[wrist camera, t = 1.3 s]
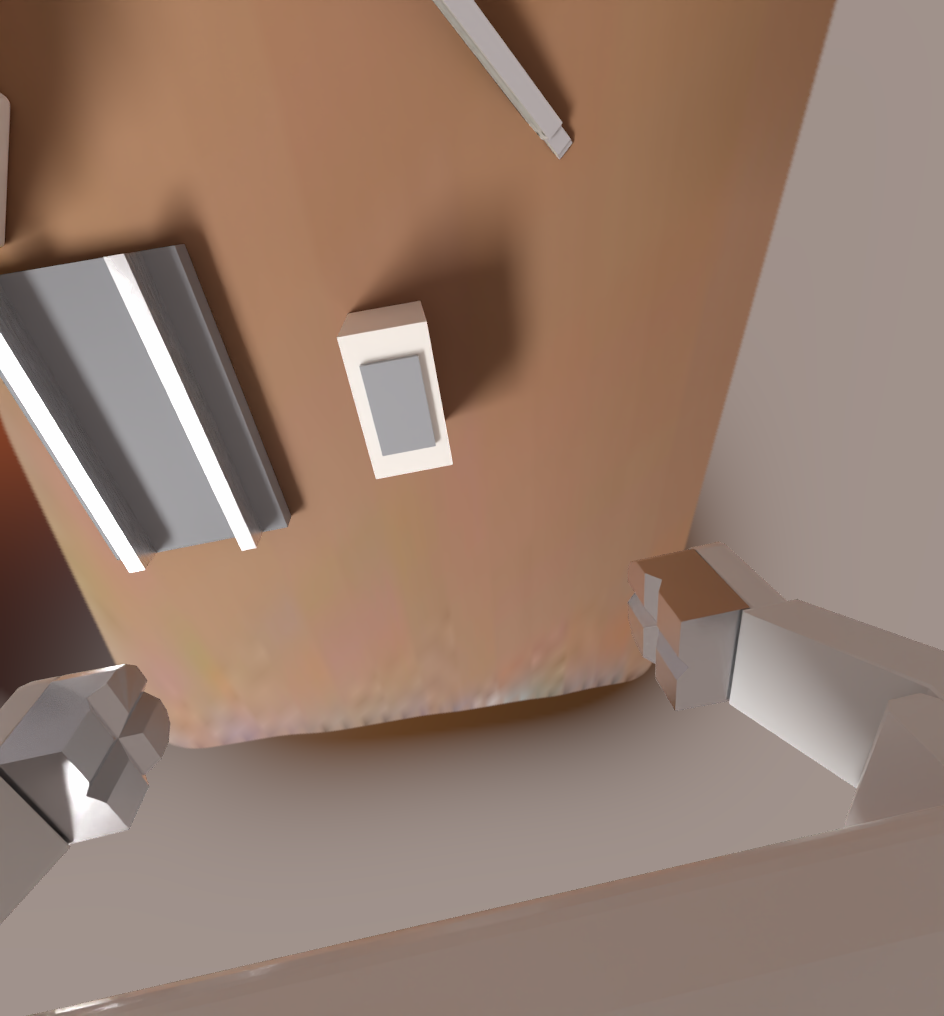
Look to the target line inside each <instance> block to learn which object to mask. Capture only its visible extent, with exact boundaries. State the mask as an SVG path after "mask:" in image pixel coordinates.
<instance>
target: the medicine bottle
mask: <svg viewBox="0 0 944 1016" xmlns="http://www.w3.org/2000/svg"><path fill="white" fill-rule="evenodd" d="M9 127H10V102H9V100H8V99H7V97H5V96H4V95H3V94H1V93H0V248H1V247H3V246H4V244H5V223H6V199H7V175H8V151H9Z"/></svg>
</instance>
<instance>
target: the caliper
mask: <svg viewBox="0 0 944 1016" xmlns="http://www.w3.org/2000/svg"><path fill="white" fill-rule="evenodd" d="M433 2H434V3H435V4H436V6H437V7H438V8H439V9H440V11H441V12H442V13H443V15H444V16H445V17H446V19H447V20H448V21H449V22H450V24H451V25H452V26H453V28H454V29H455V30H456V31H457V33H458V34H459V35H460V37H461V38H462V39H463V40H464V42H465V43H466V44H467V46H468V47H469V48H470V50H471V51H472V52H473V53H474V55H475V56H476V57H477V59H478V60H479V61H480V62H481V64H482V65H483V66H484V68H485V69H486V70H487V71H488V73H489V74H490V75H491V77H492V78H493V79H494V81H495V82H496V83H497V84H498V86H499V87H500V88H501V90H502V91H503V92H504V93H505V95H506V96H507V97H508V99H509V100H510V101H511V103H512V104H513V105H514V106H515V108H516V109H517V110H518V112H519V113H520V114H521V115H522V117H523V118H524V119H525V120H526V121H527V123H528V124H529V125H530V126H531V127H532V128H533V130H534V131H535V132H536V133H537V134H538V135H539V137H540V138H541V139H542V140H544V141H545V142H546V143H547V145H548V146H549V147H550V149H551V150H552V151H553V153H554V154H555V155H556V156H557V158H558V159H561V157H562V156H563V155H564V153H565V152H566V151H567V149H568V148H569V147H570V146H571V144H572V141H571V139H570V137H569V136H568V134H567V133H566V132H565V130H564V129H563V128H562V126H561V124H562V123H563V122H562V121H561V120H560V118H559V117H558V116H557V114H556V113H555V111H554V110H553V109H552V107H551V106H550V105H549V103H548V102H547V100H546V99H545V98H544V96H543V95H542V94H541V92H540V91H539V89H538V88H537V87H536V85H535V84H534V83H533V81H532V80H531V78H530V77H529V76H528V74H527V73H526V72H525V70H524V69H523V67H522V66H521V65H520V63H519V62H518V61H517V59H516V58H515V56H514V55H513V54H512V52H511V51H510V50H509V48H508V47H507V45H506V44H505V43H504V41H503V40H502V39H501V37H500V36H499V34H498V33H497V32H496V30H495V29H494V28H493V26H492V25H491V23H490V22H489V21H488V19H487V18H486V17H485V15H484V14H483V12H482V11H481V10H480V8H479V7H478V6H477V4H476V3H475V2H474V0H433Z"/></svg>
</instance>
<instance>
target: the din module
mask: <svg viewBox="0 0 944 1016" xmlns="http://www.w3.org/2000/svg"><path fill="white" fill-rule="evenodd" d="M337 340H338V343H339V347H340V351H341V354H342V358H343V361H344V365H345V369H346V372H347V376H348V379H349V383H350V387H351V390H352V394H353V398H354V401H355V405H356V408H357V412H358V416H359V419H360V423H361V426H362V430H363V434H364V437H365V441H366V445H367V448H368V452H369V455H370V459H371V463H372V466H373V470H374V473H375V477H376V479H380V478H385V477H390V476H395V475H401V474H406V473H411V472H416V471H421V470H427V469H432V468H437V467H442V466H448V465H453V462H452V457H451V451H450V446H449V440H448V435H447V429H446V424H445V419H444V413H443V408H442V402H441V397H440V391H439V386H438V380H437V375H436V369H435V364H434V359H433V353H432V348H431V342H430V337H429V331H428V326H427V321H426V318H425V314H424V311H423V308H422V304H421V301H416V302H410V303H404V304H399V305H393V306H387V307H382V308H376V309H370V310H365V311H359V312H354V313H348V314H347V316H346V319H345V321H344V323H343V325H342V327H341V330H340V332H339V334H338V336H337Z"/></svg>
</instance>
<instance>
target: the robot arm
mask: <svg viewBox="0 0 944 1016" xmlns="http://www.w3.org/2000/svg"><path fill="white" fill-rule="evenodd" d="M628 583H629V584H630V586H631V588H632V589H633V591H634V592H635V593H634V594H633V596H632V597H631V599H630V600H629V601H628V619H629V624H630V628H631V632H632V635H633V638H634V640H635V643H636V645H637V647H638V649H639V651H640V652H641V654H642V656H643V657H644V658H646V659H648V660H650V661H651V662H653V663H655V664H656V669H655V678H656V680H657V682H658V683H659V685H660V686H661V688H662V690H663V692H664V693H665V695H666V697H667V698H668V700H669V702H670V703H671V705H672V706H673V708H674V710H675V711H678V710H684V709H689V708H694V707H700V706H705V705H710V704H716V703H721V702H726V701H729V704H730V705H732V706H733V707H735V708H736V709H738V710H739V711H741V712H742V713H744V714H745V715H747V716H748V717H750V718H751V719H753V720H754V721H756V722H757V723H759V724H760V725H762V726H763V727H765V728H766V729H768V730H769V731H771V732H773V733H774V734H775V735H777V736H779V737H780V738H781V739H783V740H785V741H786V742H788V743H789V744H790V745H792V746H793V747H795V748H796V749H798V750H799V751H801V752H803V753H804V754H806V755H807V756H808V757H810V758H812V759H813V760H815V761H816V762H818V763H819V764H821V765H822V766H824V767H825V768H827V769H828V770H830V771H831V772H833V773H834V774H836V775H837V776H839V777H840V778H842V779H843V780H845V781H846V782H848V783H849V784H851V785H852V786H854V787H855V788H857V789H856V792H855V795H854V797H853V800H852V803H851V806H850V808H849V811H848V814H847V817H846V821H845V825H844V828H841V829H836V830H832V831H828V832H824V833H819V834H815V835H811V836H806V837H802V838H797V839H793V840H789V841H785V842H780V843H776V844H771V845H767V846H763V847H759V848H754V849H750V850H745V851H741V852H737V853H732V854H728V855H724V856H719V857H715V858H711V859H706V860H702V861H698V862H694V863H689V864H685V865H680V866H676V867H672V868H667V869H663V870H659V871H654V872H650V873H645V874H641V875H637V876H632V877H628V878H624V879H619V880H615V881H611V882H607V883H602V884H598V885H594V886H589V887H584V888H580V889H576V890H571V891H567V892H563V893H558V894H554V895H550V896H545V897H541V898H536V899H532V900H528V901H524V902H519V903H515V904H511V905H506V906H501V907H497V908H493V909H488V910H485V911H480V912H475V913H471V914H467V915H462V916H458V917H453V918H449V919H445V920H441V921H437V922H432V923H427V924H423V925H419V926H414V927H410V928H405V929H401V930H397V931H392V932H388V933H384V934H379V935H375V936H371V937H366V938H362V939H358V940H354V941H349V942H345V943H341V944H336V945H332V946H327V947H323V948H319V949H314V950H310V951H306V952H301V953H297V954H293V955H288V956H285V957H280V958H275V959H271V960H267V961H262V962H258V963H254V964H249V965H245V966H241V967H236V968H232V969H228V970H223V971H219V972H215V973H211V974H206V975H202V976H197V977H193V978H189V979H185V980H180V981H176V982H171V983H167V984H163V985H159V986H154V987H150V988H146V989H141V990H137V991H133V992H128V993H124V994H119V995H115V996H111V997H106V998H102V999H98V1000H93V1001H90V1002H85V1003H80V1004H76V1005H72V1006H67V1007H63V1008H59V1009H54V1010H50V1011H46V1012H42V1013H37V1014H33V1015H28V1016H944V651H942V650H939V649H937V648H934V647H931V646H928V645H925V644H922V643H920V642H917V641H914V640H911V639H908V638H906V637H903V636H900V635H897V634H894V633H891V632H889V631H885V630H883V629H880V628H877V627H874V626H872V625H869V624H866V623H863V622H860V621H857V620H855V619H852V618H849V617H846V616H843V615H840V614H837V613H835V612H832V611H829V610H826V609H823V608H821V607H818V606H815V605H812V604H809V603H806V602H803V601H800V600H798V599H795V600H790V601H787V600H786V599H785V598H783V597H782V596H781V595H780V594H779V593H778V592H777V591H776V590H775V589H773V588H772V587H771V586H770V585H769V584H768V583H767V582H766V581H765V580H764V579H763V578H762V577H761V576H760V575H758V574H757V573H756V572H755V571H754V570H753V569H752V568H751V567H750V566H749V565H747V564H746V563H745V562H744V561H743V560H742V559H741V558H740V557H739V556H738V555H737V554H735V552H733V551H732V550H731V549H730V548H729V547H728V546H727V545H726V544H723V543H720V542H715V543H710V544H706V545H702V546H697V547H693V548H689V549H688V550H683V551H679V552H674V553H669V554H664V555H659V556H655V557H650V558H645V559H640V560H635V561H631V562H630V564H629V567H628ZM146 683H147V679H146V678H145V676H144V675H143V674H142V672H141V671H140V670H139V668H138V667H137V666H135V665H128V664H123V665H117V666H112V667H106V668H101V669H95V670H90V671H84V672H79V673H73V674H68V675H63V676H61V677H53V678H48V679H43V680H37V681H32V682H30V683H28V684H26V685H24V686H22V687H20V688H18V689H17V690H16V691H15V693H14V694H13V695H12V696H11V697H10V698H9V700H8V701H7V702H6V703H5V704H4V705H3V707H2V708H1V709H0V924H1V923H2V922H3V921H4V920H5V919H6V918H7V917H8V916H9V915H10V913H11V912H12V911H13V910H14V909H15V908H16V907H17V906H18V905H19V903H20V902H21V901H22V900H23V899H24V898H25V897H26V896H27V895H28V894H29V892H30V891H31V890H32V889H33V888H34V887H35V886H36V885H37V884H38V882H39V881H40V880H41V879H42V878H43V877H44V876H45V875H46V874H47V873H48V871H49V870H50V869H51V868H52V867H53V866H54V865H55V864H56V862H57V861H58V860H59V859H60V858H61V857H62V856H63V855H64V854H65V853H66V852H67V850H68V849H69V848H70V845H69V844H72V843H76V842H80V841H84V840H88V839H92V838H97V837H101V836H105V835H109V834H113V833H117V832H121V831H125V830H129V829H130V827H131V824H132V822H133V820H134V818H135V816H136V814H137V811H138V809H139V807H140V805H141V803H142V801H143V798H144V796H145V794H146V792H147V790H148V788H149V784H148V781H147V778H146V775H145V774H146V773H147V772H148V771H149V770H151V769H152V768H153V767H154V766H155V764H157V763H158V762H159V761H160V760H161V759H162V756H163V754H164V752H165V749H166V747H167V745H168V742H169V732H170V721H169V717H168V713H167V710H166V708H165V707H164V705H163V703H162V702H161V700H160V699H158V698H156V697H154V696H152V695H150V694H148V693H146V692H144V690H145V686H146Z"/></svg>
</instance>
